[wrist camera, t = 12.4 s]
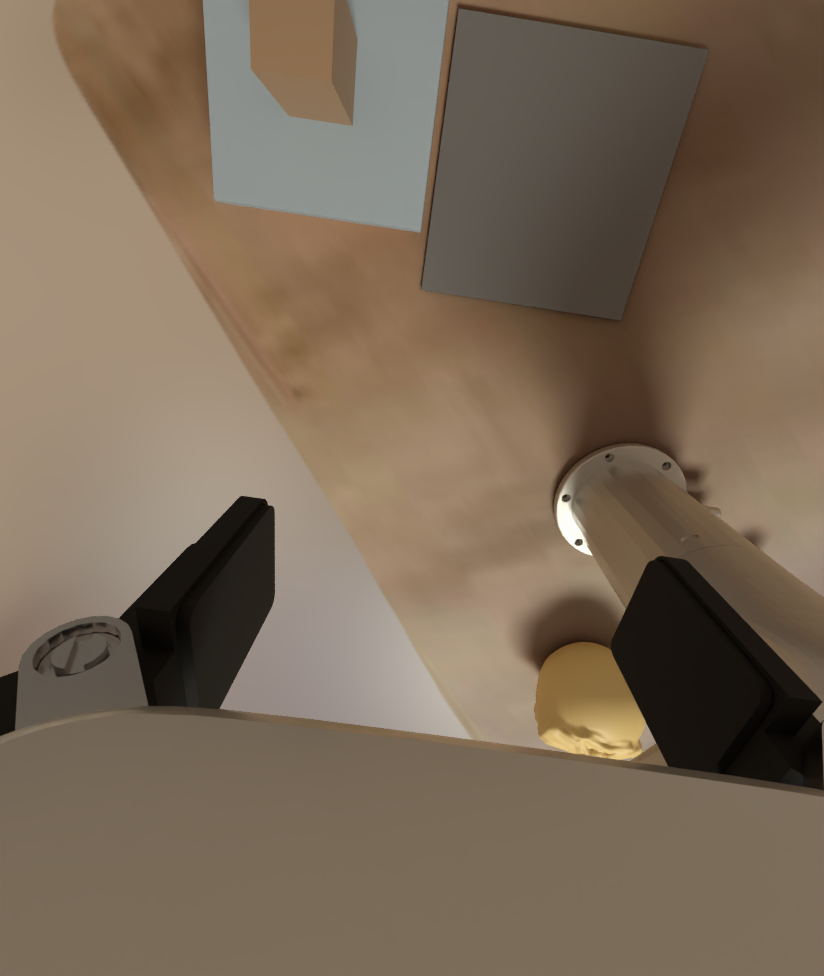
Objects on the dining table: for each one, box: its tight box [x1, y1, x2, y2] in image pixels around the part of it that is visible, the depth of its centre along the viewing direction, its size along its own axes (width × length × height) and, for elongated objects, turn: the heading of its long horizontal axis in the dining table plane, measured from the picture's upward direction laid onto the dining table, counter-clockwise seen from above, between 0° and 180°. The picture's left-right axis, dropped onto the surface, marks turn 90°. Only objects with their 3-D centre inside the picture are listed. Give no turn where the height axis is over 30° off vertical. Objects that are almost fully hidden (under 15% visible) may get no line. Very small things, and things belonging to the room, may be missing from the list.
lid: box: [203, 0, 449, 233], centre depth 23 cm, size 14×14×7 cm
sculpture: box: [534, 642, 646, 760], centre depth 47 cm, size 12×12×11 cm
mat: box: [421, 8, 709, 320], centre depth 31 cm, size 17×17×1 cm
